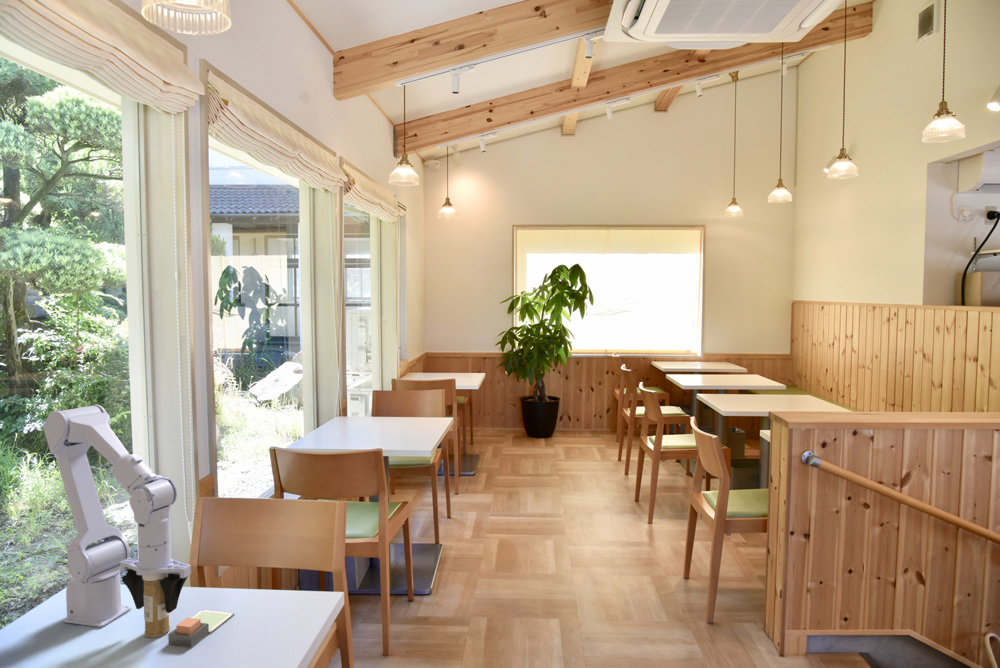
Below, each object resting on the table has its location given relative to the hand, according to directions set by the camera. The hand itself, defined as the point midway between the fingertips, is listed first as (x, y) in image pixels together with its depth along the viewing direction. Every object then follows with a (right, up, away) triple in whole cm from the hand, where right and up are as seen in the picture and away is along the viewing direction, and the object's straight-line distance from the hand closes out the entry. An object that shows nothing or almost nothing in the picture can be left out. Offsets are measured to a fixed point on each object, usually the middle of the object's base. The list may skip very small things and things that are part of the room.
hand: (156, 608), depth 125 cm
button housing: (+8, -5, -2) cm, 9 cm away
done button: (+8, -4, -2) cm, 9 cm away
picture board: (+8, -5, +4) cm, 10 cm away
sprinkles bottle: (0, -5, 0) cm, 5 cm away
